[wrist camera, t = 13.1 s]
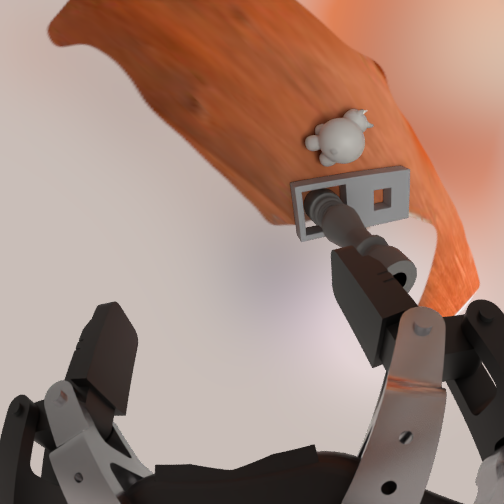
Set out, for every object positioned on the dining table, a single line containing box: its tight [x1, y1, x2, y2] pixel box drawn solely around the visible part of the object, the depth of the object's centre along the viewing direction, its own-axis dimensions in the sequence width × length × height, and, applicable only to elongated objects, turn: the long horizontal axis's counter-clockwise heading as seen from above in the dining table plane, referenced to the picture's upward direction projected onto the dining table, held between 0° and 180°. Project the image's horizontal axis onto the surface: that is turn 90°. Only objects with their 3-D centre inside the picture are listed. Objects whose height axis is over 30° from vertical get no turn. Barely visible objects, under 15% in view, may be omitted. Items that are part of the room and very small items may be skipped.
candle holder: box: [304, 188, 417, 293], centre depth 37 cm, size 6×6×25 cm
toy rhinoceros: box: [305, 109, 374, 166], centre depth 39 cm, size 7×12×8 cm, turn 132°
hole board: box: [290, 166, 410, 242], centre depth 47 cm, size 10×23×3 cm, turn 100°
